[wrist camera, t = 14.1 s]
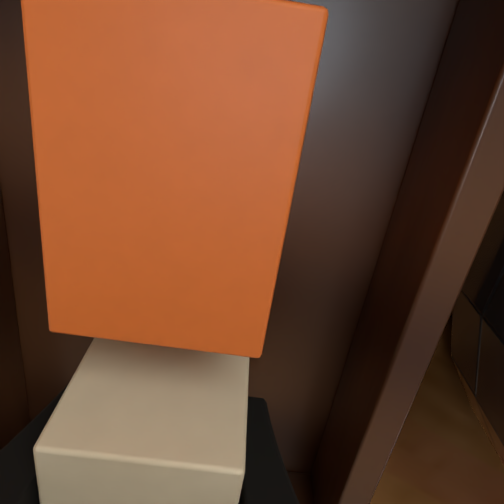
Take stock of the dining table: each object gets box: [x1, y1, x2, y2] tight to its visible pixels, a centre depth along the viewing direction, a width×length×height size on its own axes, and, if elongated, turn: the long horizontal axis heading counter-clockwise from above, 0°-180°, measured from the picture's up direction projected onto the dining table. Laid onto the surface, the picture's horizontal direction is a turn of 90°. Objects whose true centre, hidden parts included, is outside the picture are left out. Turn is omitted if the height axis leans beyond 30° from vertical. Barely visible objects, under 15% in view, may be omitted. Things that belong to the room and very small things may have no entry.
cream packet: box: [33, 338, 249, 504], centre depth 10 cm, size 5×3×4 cm
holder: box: [0, 0, 504, 504], centre depth 10 cm, size 16×11×3 cm
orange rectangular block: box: [21, 0, 329, 358], centre depth 7 cm, size 5×3×4 cm
